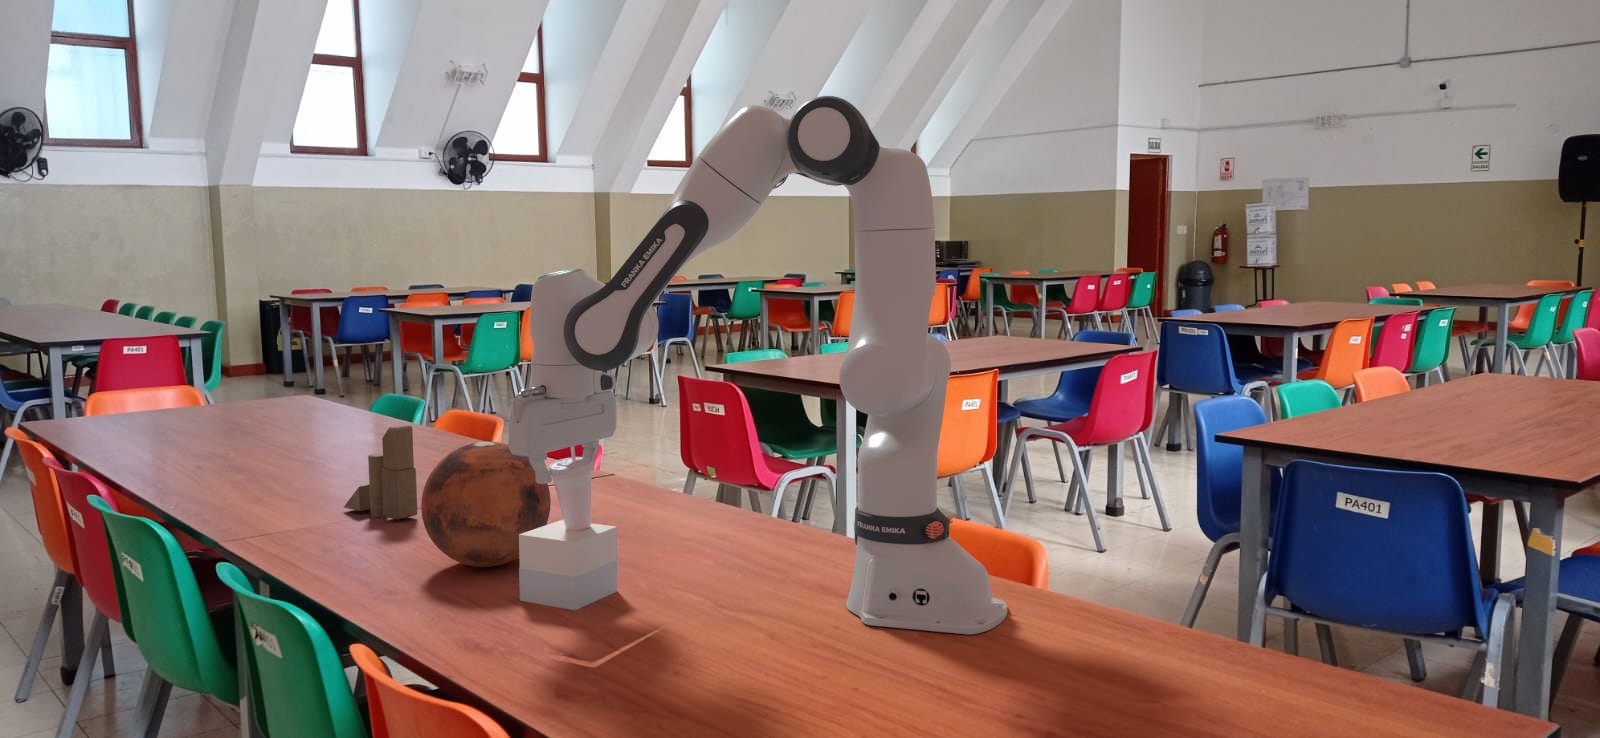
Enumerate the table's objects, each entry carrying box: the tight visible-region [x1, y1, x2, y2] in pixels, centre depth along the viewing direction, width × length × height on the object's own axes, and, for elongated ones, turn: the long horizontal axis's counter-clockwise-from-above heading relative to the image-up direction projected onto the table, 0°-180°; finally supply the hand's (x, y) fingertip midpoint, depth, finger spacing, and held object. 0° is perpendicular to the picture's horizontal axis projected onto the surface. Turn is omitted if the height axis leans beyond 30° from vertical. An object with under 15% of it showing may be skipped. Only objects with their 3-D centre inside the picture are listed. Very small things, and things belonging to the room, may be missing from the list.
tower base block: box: [518, 560, 618, 611], centre depth 167 cm, size 10×10×5 cm
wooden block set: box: [343, 424, 419, 520], centre depth 216 cm, size 17×6×18 cm, turn 55°
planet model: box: [420, 441, 552, 568], centre depth 182 cm, size 20×20×20 cm
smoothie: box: [548, 446, 594, 531], centre depth 166 cm, size 6×6×14 cm
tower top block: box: [518, 519, 618, 577], centre depth 166 cm, size 10×10×5 cm
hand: (565, 477), depth 165 cm, fingers open, 8 cm apart
